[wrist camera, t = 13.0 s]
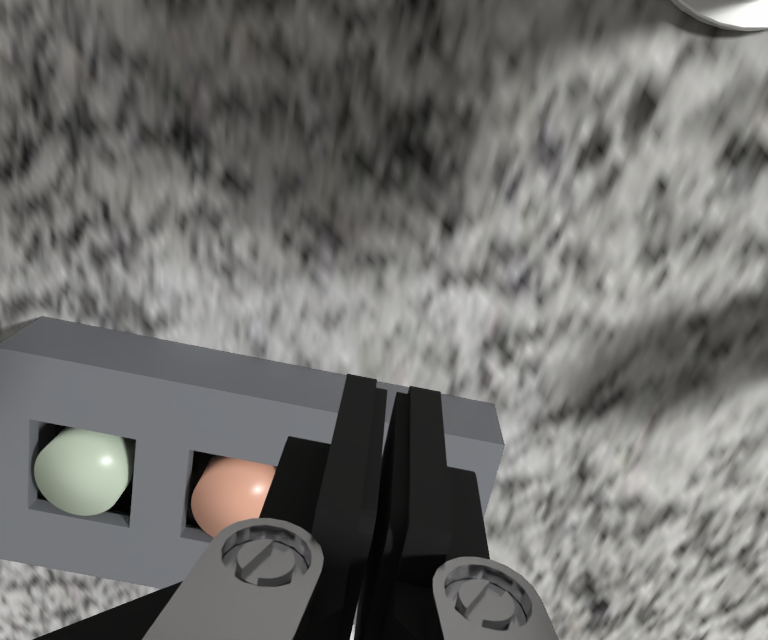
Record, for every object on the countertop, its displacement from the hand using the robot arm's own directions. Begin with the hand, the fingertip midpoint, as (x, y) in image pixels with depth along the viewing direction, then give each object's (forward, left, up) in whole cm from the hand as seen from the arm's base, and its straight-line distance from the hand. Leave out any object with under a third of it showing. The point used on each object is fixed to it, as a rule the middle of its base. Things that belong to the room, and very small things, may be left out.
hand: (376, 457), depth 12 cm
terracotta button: (+6, +18, -25) cm, 32 cm away
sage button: (+15, +18, -25) cm, 34 cm away
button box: (+6, +18, -27) cm, 33 cm away
